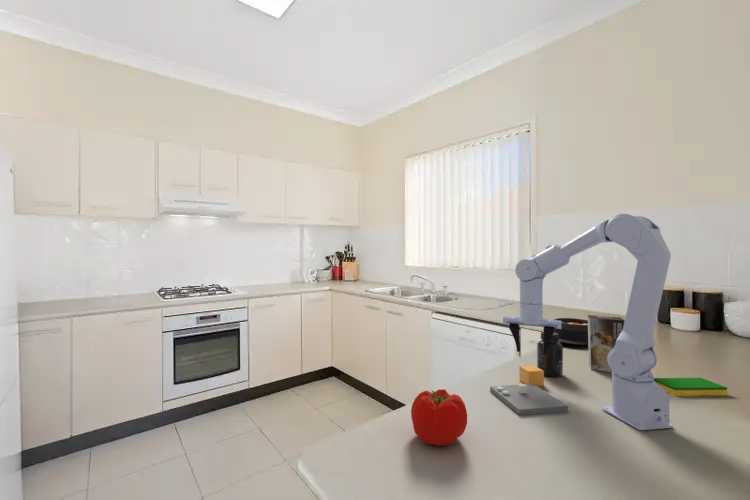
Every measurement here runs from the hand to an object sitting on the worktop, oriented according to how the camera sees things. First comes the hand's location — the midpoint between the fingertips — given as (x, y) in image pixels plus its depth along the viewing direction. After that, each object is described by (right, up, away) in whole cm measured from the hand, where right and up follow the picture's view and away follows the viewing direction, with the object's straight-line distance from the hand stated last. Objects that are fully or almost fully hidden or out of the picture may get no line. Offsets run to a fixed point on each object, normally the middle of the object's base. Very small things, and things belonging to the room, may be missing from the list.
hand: (531, 352), depth 92 cm
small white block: (-7, -7, -10) cm, 14 cm away
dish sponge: (+39, -9, -5) cm, 40 cm away
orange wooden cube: (0, -8, 0) cm, 8 cm away
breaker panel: (-6, -8, -11) cm, 15 cm away
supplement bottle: (+9, -9, +7) cm, 14 cm away
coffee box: (+29, -9, +11) cm, 32 cm away
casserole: (+38, -9, +44) cm, 59 cm away
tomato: (-31, -8, -28) cm, 43 cm away
